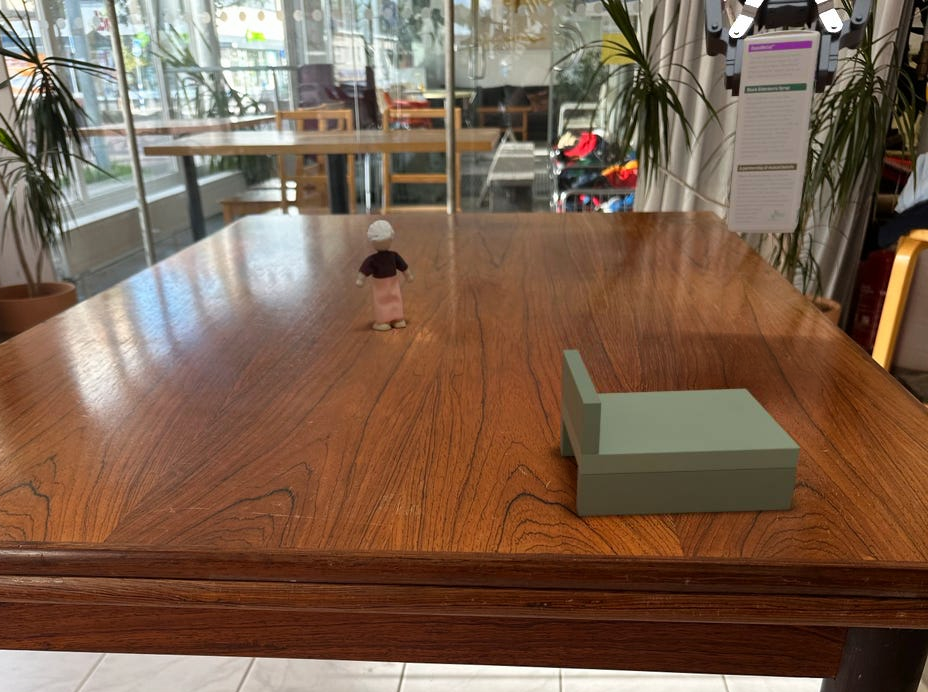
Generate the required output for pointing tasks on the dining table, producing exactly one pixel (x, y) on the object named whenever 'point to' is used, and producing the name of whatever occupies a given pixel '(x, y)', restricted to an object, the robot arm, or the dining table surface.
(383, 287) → the grandmother figurine
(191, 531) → the dining table surface
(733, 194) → the syrup box
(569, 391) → the toy bed
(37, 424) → the dining table surface
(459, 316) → the dining table surface
